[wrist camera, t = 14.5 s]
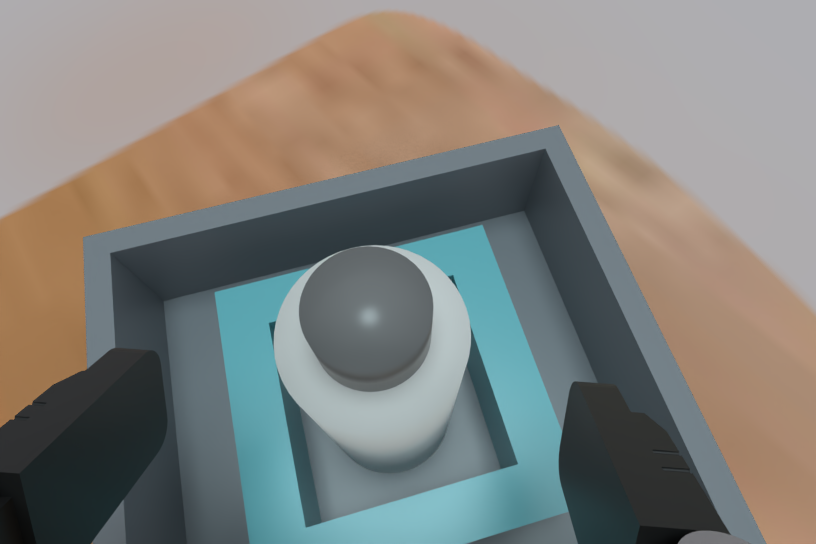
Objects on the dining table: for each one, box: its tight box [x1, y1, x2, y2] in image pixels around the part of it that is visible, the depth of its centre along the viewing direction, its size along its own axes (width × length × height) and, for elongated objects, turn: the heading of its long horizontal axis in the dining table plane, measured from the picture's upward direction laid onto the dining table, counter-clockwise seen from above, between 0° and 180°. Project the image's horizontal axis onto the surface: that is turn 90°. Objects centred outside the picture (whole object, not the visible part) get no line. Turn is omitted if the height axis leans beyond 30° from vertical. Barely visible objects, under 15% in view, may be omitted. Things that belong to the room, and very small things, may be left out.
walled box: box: [83, 125, 766, 544], centre depth 18 cm, size 16×14×5 cm
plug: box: [274, 245, 471, 473], centre depth 14 cm, size 4×4×10 cm
